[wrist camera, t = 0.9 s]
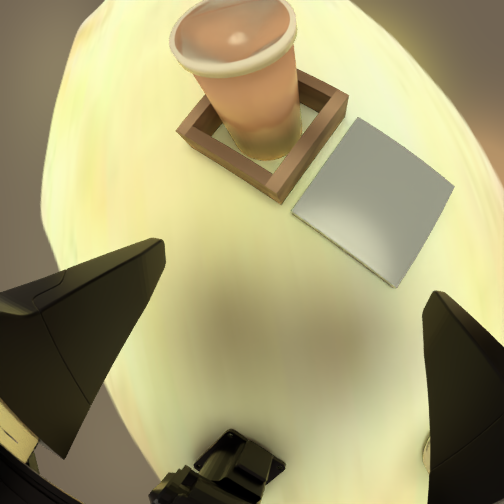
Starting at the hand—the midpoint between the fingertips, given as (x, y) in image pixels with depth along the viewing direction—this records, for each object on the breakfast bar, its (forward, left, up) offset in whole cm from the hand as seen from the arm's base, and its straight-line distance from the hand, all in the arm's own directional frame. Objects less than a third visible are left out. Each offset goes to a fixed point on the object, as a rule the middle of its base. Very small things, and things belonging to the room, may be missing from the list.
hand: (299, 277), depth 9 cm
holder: (+8, +10, -14) cm, 19 cm away
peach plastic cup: (+9, +10, -14) cm, 20 cm away
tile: (+8, -1, -14) cm, 17 cm away
